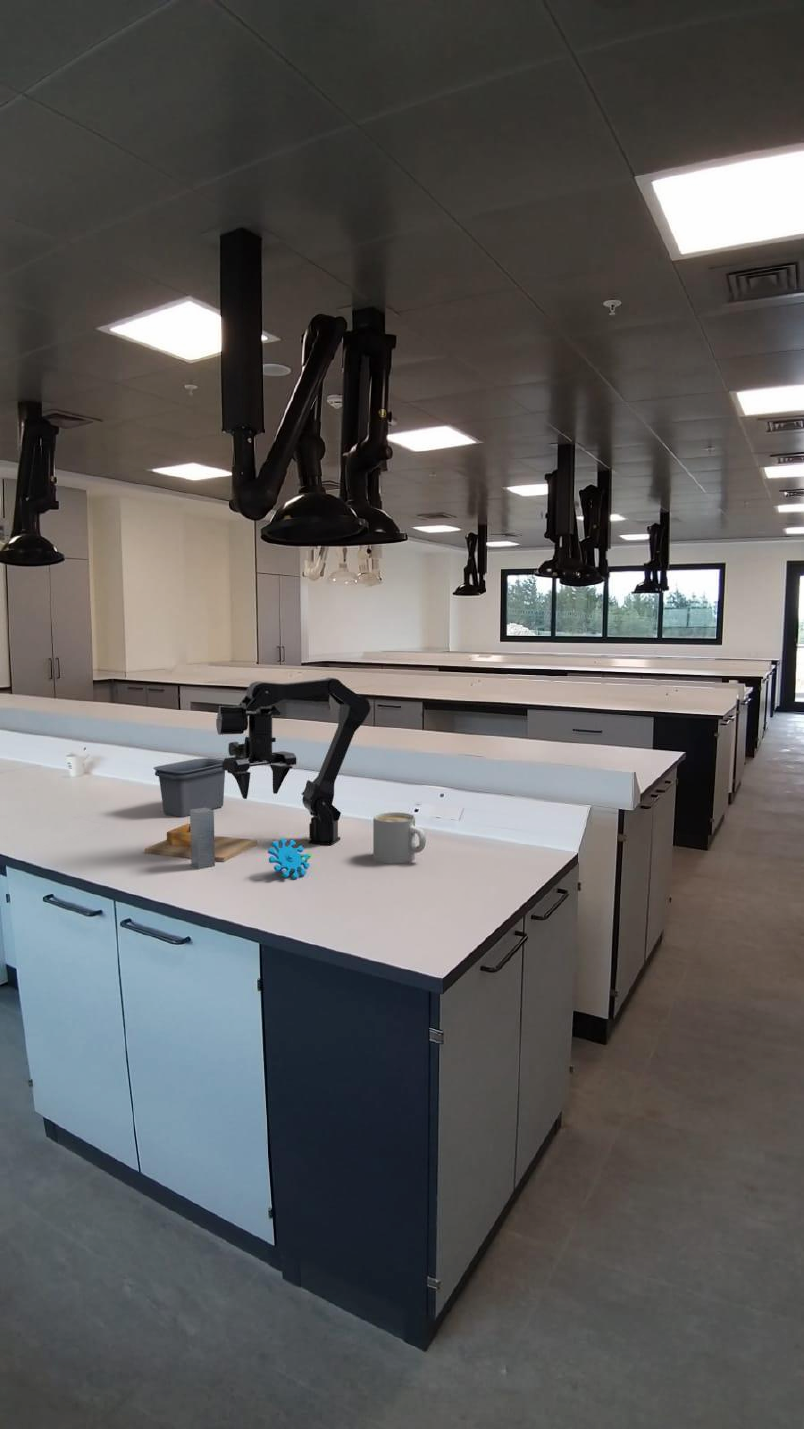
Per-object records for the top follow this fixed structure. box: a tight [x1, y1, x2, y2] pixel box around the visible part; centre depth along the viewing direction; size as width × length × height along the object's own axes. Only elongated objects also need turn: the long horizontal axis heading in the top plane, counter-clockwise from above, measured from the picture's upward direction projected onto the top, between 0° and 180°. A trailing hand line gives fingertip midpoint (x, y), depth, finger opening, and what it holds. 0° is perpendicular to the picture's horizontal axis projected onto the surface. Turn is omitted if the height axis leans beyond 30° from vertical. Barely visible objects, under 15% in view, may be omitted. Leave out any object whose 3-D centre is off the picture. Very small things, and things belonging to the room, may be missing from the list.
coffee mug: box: [372, 811, 427, 865], centre depth 180 cm, size 13×10×10 cm
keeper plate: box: [144, 823, 258, 863], centre depth 188 cm, size 22×16×4 cm
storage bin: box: [153, 757, 226, 818], centre depth 227 cm, size 21×16×14 cm
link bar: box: [189, 808, 216, 870], centre depth 173 cm, size 4×4×13 cm
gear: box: [267, 838, 313, 880], centre depth 169 cm, size 11×6×10 cm
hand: (260, 796), depth 186 cm, fingers open, 9 cm apart
